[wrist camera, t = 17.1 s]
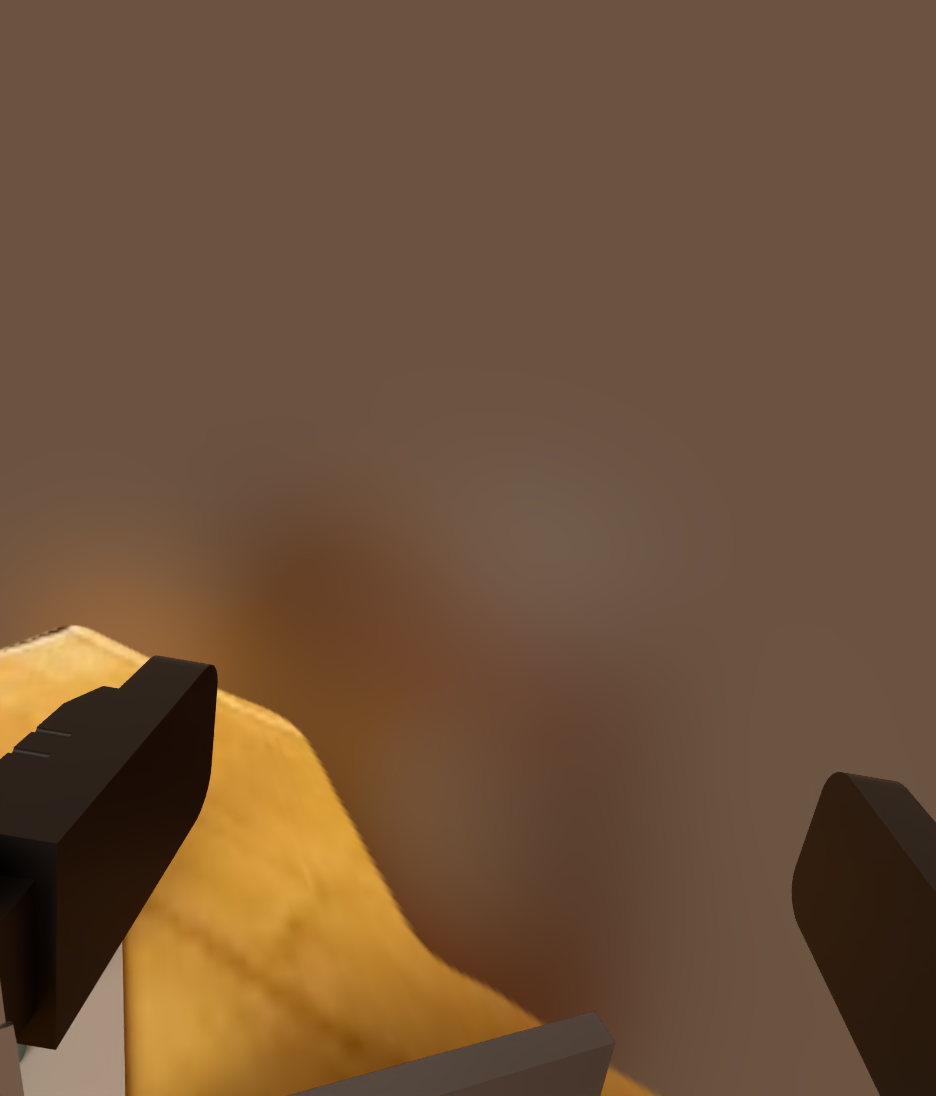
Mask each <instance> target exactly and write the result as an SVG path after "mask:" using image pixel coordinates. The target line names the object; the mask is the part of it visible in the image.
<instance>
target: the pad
mask: <svg viewBox="0 0 936 1096" xmlns="http://www.w3.org/2000/svg"><path fill="white" fill-rule="evenodd" d="M20 1070H21V1077H22V1084H23V1091H24V1096H125V1059H124V1007H123V955H122V943H121V944H120V946H119V948H118V949H117V951H116V953H115V954H114V956H113V957H112V959H111V961H110V962H109V964H108V966H107V967H106V969H105V971H104V972H103V974H102V975H101V977H100V979H99V980H98V982H97V984H96V985H95V987H94V989H93V990H92V992H91V993H90V995H89V997H88V998H87V1000H86V1002H85V1003H84V1005H83V1007H82V1008H81V1010H80V1011H79V1013H78V1015H77V1016H76V1018H75V1020H74V1021H73V1023H72V1025H71V1026H70V1028H69V1029H68V1031H67V1033H66V1034H65V1036H64V1038H63V1039H62V1041H61V1043H60V1044H59V1046H58V1047H57V1049H56V1050H52V1049H46V1048H40V1047H34V1046H28V1045H27V1048H26V1051H25V1053H24V1056H23V1058H22V1060H21V1061H20Z"/></svg>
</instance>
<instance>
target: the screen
mask: <svg viewBox="0 0 936 1096" xmlns="http://www.w3.org/2000/svg"><path fill="white" fill-rule="evenodd" d="M614 1045H615V1041H614V1039H613V1038H612V1037H611V1035H610V1033H609V1032H608V1030H607V1029H606V1027H605V1026H604V1024H603V1022H602V1021H601V1019H600V1018H599V1016H598V1015H597V1013H596V1012H595V1011H593V1012H589V1013H586V1014H583V1015H579V1016H575V1017H572V1018H568V1019H564V1020H561V1021H557V1022H553V1023H550V1024H546V1025H542V1026H539V1027H535V1028H531V1029H528V1030H524V1031H520V1032H517V1033H513V1034H510V1035H506V1036H502V1037H499V1038H495V1039H491V1040H488V1041H484V1042H481V1043H477V1044H473V1045H470V1046H466V1047H462V1048H459V1049H455V1050H451V1051H448V1052H444V1053H441V1054H437V1055H433V1056H430V1057H426V1058H422V1059H419V1060H415V1061H412V1062H408V1063H404V1064H401V1065H397V1066H393V1067H390V1068H386V1069H382V1070H379V1071H375V1072H372V1073H368V1074H364V1075H361V1076H357V1077H353V1078H350V1079H346V1080H343V1081H339V1082H335V1083H332V1084H328V1085H324V1086H321V1087H317V1088H313V1089H310V1090H306V1091H303V1092H299V1093H295V1094H292V1095H288V1096H600V1094H601V1091H602V1087H603V1084H604V1080H605V1077H606V1073H607V1070H608V1066H609V1063H610V1059H611V1056H612V1053H613V1049H614Z"/></svg>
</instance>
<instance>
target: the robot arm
mask: <svg viewBox="0 0 936 1096" xmlns="http://www.w3.org/2000/svg"><path fill="white" fill-rule="evenodd" d="M217 683H218V679H217V671H216V668H215V666H214V665H210V664H205V663H199V662H193V661H187V660H180V659H175V658H169V657H163V656H153V657H152V658H150V659H149V660H148V661H147V662H146V663H145V664H144V665H143V666H142V667H141V668H140V669H139V670H138V671H137V672H136V673H135V674H134V675H133V676H132V677H131V678H129V679H128V680H127V681H126V682H125V683H124V684H123V685H122V686H121V687H120V688H119V689H118V688H112V687H106V686H102V687H100V688H97V689H95V690H93V691H91V692H88V693H86V694H84V695H82V696H79V697H77V698H75V699H72V700H70V701H68V702H66V703H64V704H63V705H61V706H60V707H59V708H58V709H57V710H56V711H55V712H53V713H52V714H51V715H50V716H49V717H48V718H47V719H45V720H44V721H43V722H42V723H41V724H40V725H39V726H38V727H37V729H36V732H31V733H30V734H28V735H27V736H26V737H25V738H24V739H23V740H22V741H20V742H19V743H18V744H17V745H16V746H15V747H14V750H13V752H12V753H7V754H6V755H5V756H3V757H2V758H1V759H0V1096H24V1091H23V1084H22V1077H21V1070H20V1063H19V1055H18V1049H17V1044H22V1045H28V1046H34V1047H40V1048H46V1049H52V1050H56V1049H57V1047H58V1046H59V1044H60V1043H61V1041H62V1039H63V1038H64V1036H65V1034H66V1033H67V1031H68V1029H69V1028H70V1026H71V1025H72V1023H73V1021H74V1020H75V1018H76V1016H77V1015H78V1013H79V1011H80V1010H81V1008H82V1007H83V1005H84V1003H85V1002H86V1000H87V998H88V997H89V995H90V993H91V992H92V990H93V989H94V987H95V985H96V984H97V982H98V980H99V979H100V977H101V975H102V974H103V972H104V971H105V969H106V967H107V966H108V964H109V962H110V961H111V959H112V957H113V956H114V954H115V953H116V951H117V949H118V948H119V946H120V944H121V943H122V941H123V939H124V938H125V936H126V935H127V933H128V931H129V930H130V928H131V926H132V925H133V923H134V921H135V920H136V918H137V917H138V915H139V913H140V912H141V910H142V908H143V907H144V905H145V903H146V902H147V900H148V898H149V897H150V895H151V894H152V892H153V890H154V889H155V887H156V885H157V884H158V882H159V880H160V879H161V877H162V876H163V874H164V872H165V871H166V869H167V867H168V866H169V864H170V862H171V861H172V859H173V858H174V856H175V854H176V853H177V851H178V849H179V848H180V846H181V844H182V843H183V841H184V840H185V838H186V836H187V835H188V833H189V831H190V830H191V828H192V826H193V825H194V823H195V821H196V820H197V818H198V816H199V813H200V811H201V809H202V806H203V803H204V800H205V797H206V794H207V790H208V786H209V781H210V775H211V766H212V752H213V739H214V725H215V712H216V698H217ZM792 904H793V910H794V915H795V918H796V921H797V924H798V926H799V928H800V930H801V932H802V934H803V936H804V938H805V940H806V943H807V945H808V947H809V949H810V951H811V953H812V955H813V957H814V959H815V961H816V963H817V966H818V968H819V970H820V972H821V974H822V976H823V978H824V980H825V982H826V984H827V986H828V988H829V990H830V992H831V995H832V996H833V999H834V1001H835V1003H836V1005H837V1007H838V1009H839V1011H840V1013H841V1015H842V1017H843V1020H844V1021H845V1024H846V1026H847V1028H848V1030H849V1032H850V1034H851V1036H852V1038H853V1040H854V1042H855V1044H856V1046H857V1049H858V1051H859V1053H860V1055H861V1057H862V1059H863V1061H864V1063H865V1065H866V1067H867V1069H868V1071H869V1073H870V1076H871V1078H872V1080H873V1082H874V1084H875V1086H876V1088H877V1090H878V1092H879V1094H880V1096H936V822H935V821H934V820H933V819H932V818H931V816H930V815H929V814H928V813H927V812H926V811H925V809H924V808H923V807H922V806H921V805H920V803H919V802H918V801H917V800H916V799H915V798H914V796H913V795H912V794H911V793H910V792H909V791H908V789H907V788H906V787H904V786H903V785H902V784H901V783H899V782H895V781H890V780H884V779H879V778H873V777H867V776H861V775H855V774H849V773H843V772H837V773H834V774H832V775H831V776H830V777H829V778H828V780H827V781H826V783H825V785H824V787H823V789H822V792H821V795H820V798H819V801H818V804H817V807H816V809H815V812H814V815H813V818H812V821H811V824H810V827H809V830H808V833H807V835H806V839H805V841H804V844H803V847H802V850H801V853H800V856H799V859H798V861H797V864H796V867H795V871H794V875H793V881H792Z"/></svg>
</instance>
